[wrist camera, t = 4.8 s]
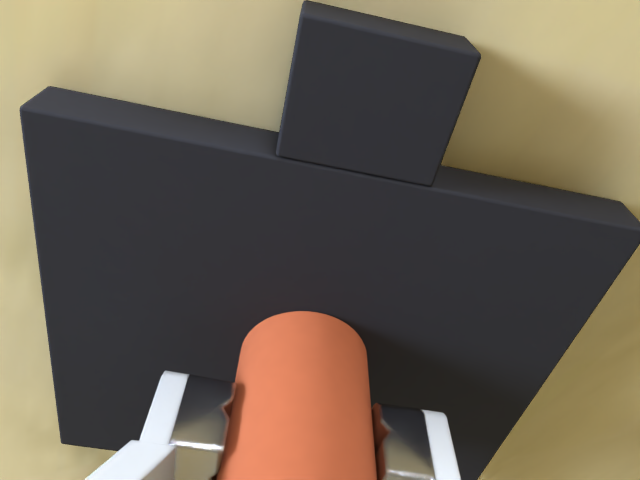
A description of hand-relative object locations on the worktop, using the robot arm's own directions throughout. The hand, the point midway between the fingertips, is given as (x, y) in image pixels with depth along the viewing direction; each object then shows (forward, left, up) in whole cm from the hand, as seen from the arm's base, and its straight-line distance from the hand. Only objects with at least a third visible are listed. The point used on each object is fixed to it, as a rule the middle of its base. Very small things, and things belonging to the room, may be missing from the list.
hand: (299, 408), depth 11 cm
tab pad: (0, -1, -3) cm, 3 cm away
